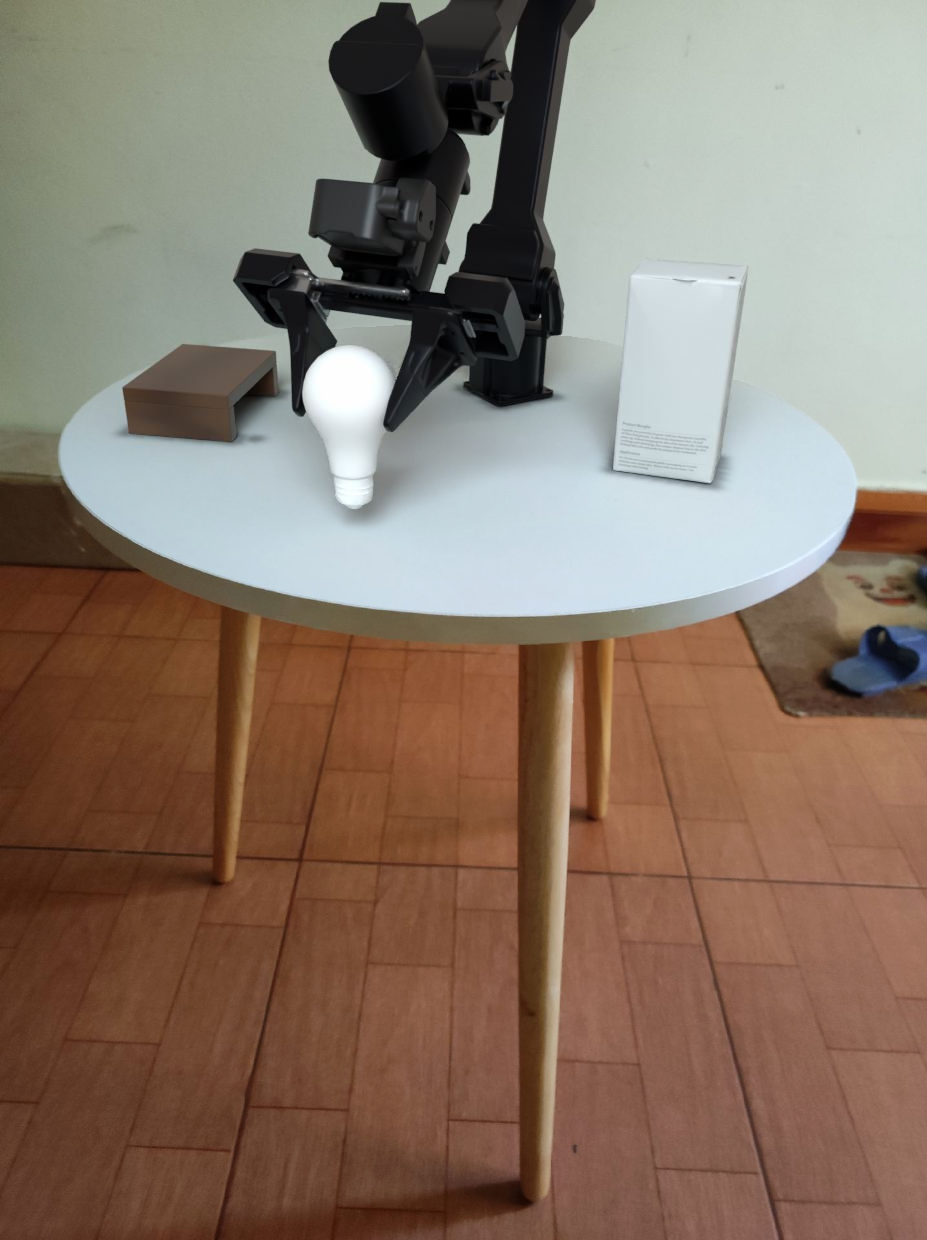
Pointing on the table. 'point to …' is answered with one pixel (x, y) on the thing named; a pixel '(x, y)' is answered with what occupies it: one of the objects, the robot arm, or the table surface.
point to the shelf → (198, 391)
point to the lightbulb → (349, 415)
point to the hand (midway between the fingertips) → (341, 421)
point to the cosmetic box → (677, 367)
